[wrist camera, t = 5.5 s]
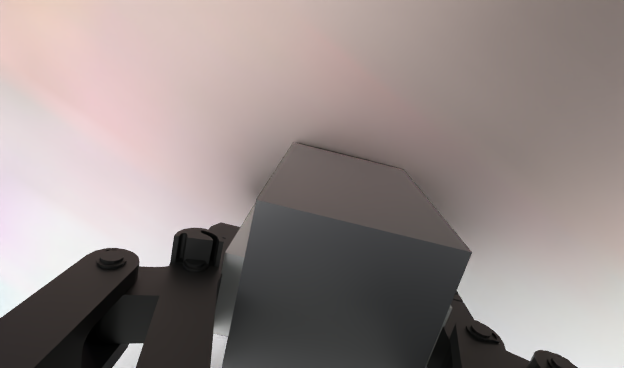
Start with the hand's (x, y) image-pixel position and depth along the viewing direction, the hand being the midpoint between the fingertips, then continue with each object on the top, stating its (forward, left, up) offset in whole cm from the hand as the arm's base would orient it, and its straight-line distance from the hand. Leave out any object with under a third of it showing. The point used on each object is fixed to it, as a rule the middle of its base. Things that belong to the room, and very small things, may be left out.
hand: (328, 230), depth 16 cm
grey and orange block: (0, +7, 0) cm, 7 cm away
